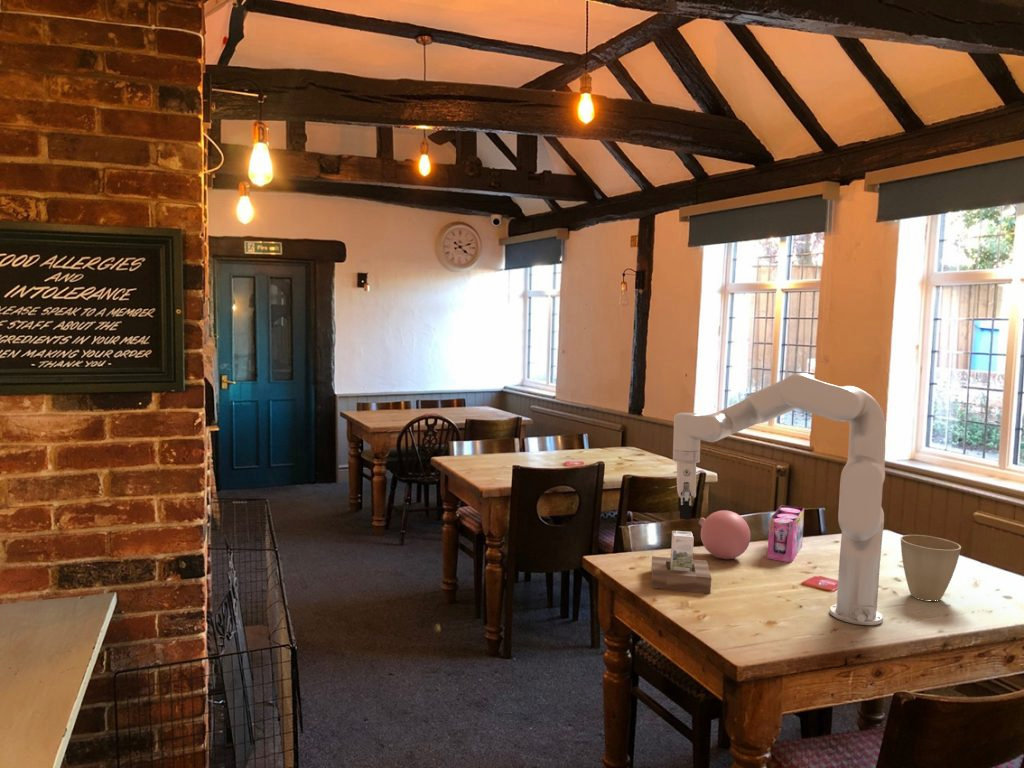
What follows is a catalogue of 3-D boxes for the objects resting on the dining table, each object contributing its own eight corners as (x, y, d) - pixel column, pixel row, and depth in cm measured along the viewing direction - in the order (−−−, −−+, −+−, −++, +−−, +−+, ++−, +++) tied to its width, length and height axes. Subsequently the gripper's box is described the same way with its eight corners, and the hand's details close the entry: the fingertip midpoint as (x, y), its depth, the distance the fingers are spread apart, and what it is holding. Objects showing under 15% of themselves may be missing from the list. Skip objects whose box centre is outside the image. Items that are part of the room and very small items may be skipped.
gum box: (791, 564, 243) (794, 522, 242) (765, 560, 247) (768, 518, 246) (802, 546, 264) (805, 507, 263) (778, 542, 268) (780, 504, 267)
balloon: (720, 545, 261) (722, 501, 260) (759, 563, 243) (762, 515, 242) (681, 549, 256) (684, 503, 254) (719, 567, 237) (721, 518, 236)
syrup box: (689, 579, 224) (691, 530, 223) (691, 586, 218) (693, 536, 217) (669, 578, 225) (671, 529, 224) (670, 584, 219) (673, 535, 218)
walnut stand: (710, 593, 213) (711, 577, 212) (651, 588, 215) (652, 572, 215) (705, 575, 229) (706, 560, 228) (651, 570, 231) (652, 556, 231)
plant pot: (925, 609, 206) (929, 550, 205) (884, 590, 221) (888, 535, 219) (969, 605, 210) (974, 548, 209) (927, 587, 225) (931, 533, 223)
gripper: (702, 461, 210) (700, 523, 211) (697, 452, 227) (695, 509, 228) (674, 460, 211) (672, 521, 212) (671, 451, 228) (670, 507, 229)
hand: (684, 515), depth 220 cm, fingers open, 9 cm apart
